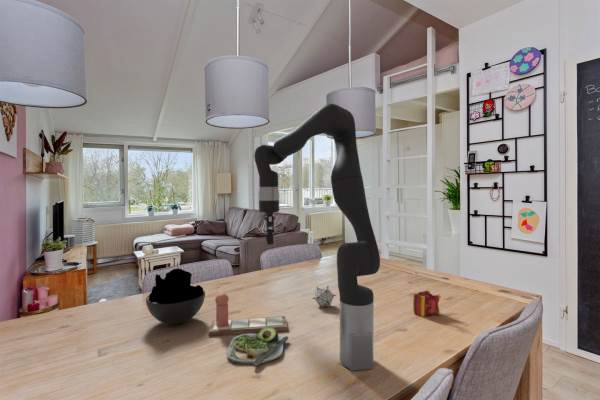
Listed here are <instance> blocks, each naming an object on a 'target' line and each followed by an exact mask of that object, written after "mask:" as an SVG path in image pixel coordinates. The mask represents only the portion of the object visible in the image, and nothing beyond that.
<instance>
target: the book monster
mask: <svg viewBox="0 0 600 400" xmlns="http://www.w3.org/2000/svg"><path fill="white" fill-rule="evenodd" d="M441 298H442V295H441V294H439V293H438V294H433V293H431V290H429V289H426V290H424V291H418V292H414V293H413V301H412V303H413V305H412V306H413V308H412V309H413V313H414V314H415V315H416V316H418V317H421V318H424V317H425V316H430V315H431V316H432V315H437V316H441V315H442V313H441V311H440V308H439V302H440V299H441Z"/></svg>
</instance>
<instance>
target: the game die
mask: <svg viewBox="0 0 600 400" xmlns="http://www.w3.org/2000/svg"><path fill="white" fill-rule="evenodd" d="M329 287H330V286H329V285H327V287H320V288H319V287H318V286H316V289H317V290H316V292H315V295H314V297H312V298H311V299H312V300H315V302H316V303H317V304H318V305H319V307H318V308H319V309H321V307H330V308H332V305H331V304H332V302H333V299H334V297H336V296H337V294H334V293H332V291H331V290H330V289H329Z"/></svg>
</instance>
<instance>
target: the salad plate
mask: <svg viewBox="0 0 600 400" xmlns="http://www.w3.org/2000/svg"><path fill="white" fill-rule="evenodd" d="M288 340H289V337H288V336H282V335H280V334H279V333H278V332H277V331H276V329H274V328H272V327H266V328H263V329H261V330H260V331H259V333H248V334H238V335H235V336H234V337H233V338H232V339H231V341H230V343H229V345H228V348H227V351H226V357H227V358H228V359H229V360H230V361H232V362H235V363H236V362H237V364H240V363H241V365H252V366H255V367H256V366H257V367H258V366H259V365H261V363H262V364H264V363H267V362H270V361H273V360H275V359H278V358H280V357H281V355H282V354H283V351H284V345H285V343H286V342H287V341H288ZM236 351H240V352H244V353H246V355H247V357H245V358H241V357H239V356H238V355H237V354H236Z"/></svg>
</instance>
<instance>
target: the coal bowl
mask: <svg viewBox="0 0 600 400" xmlns="http://www.w3.org/2000/svg"><path fill="white" fill-rule="evenodd" d="M191 279H192V273H191V271H190V272H189V271H187V270H184V269H182V268H173V269H171V270H170V271H168V272H166V273H165V277H164V278H162V277H161V275H160V274H155V278H154V280H155V285H153V286H152V288H151V291H150V293H149V295H147V296H146V298H145V303H146V307H147V310H148V311H149V313H150V315H151V316H152V317H153V318H155V319H156V320H157V321H159V322H160V323H163V324H166V325H179V324H183V323H185V322H187V321H189V320H191V319H192V318H194V317H196V315H197V314H198V313H199V311H200V310H201V308H202V307H203V304H204V302H205V297H206V292H205V290H204V288H203V287H202V286H201V285H199V284H197V285H195V286H194V285H191V284H192V283H191V282H192V280H191Z"/></svg>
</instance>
